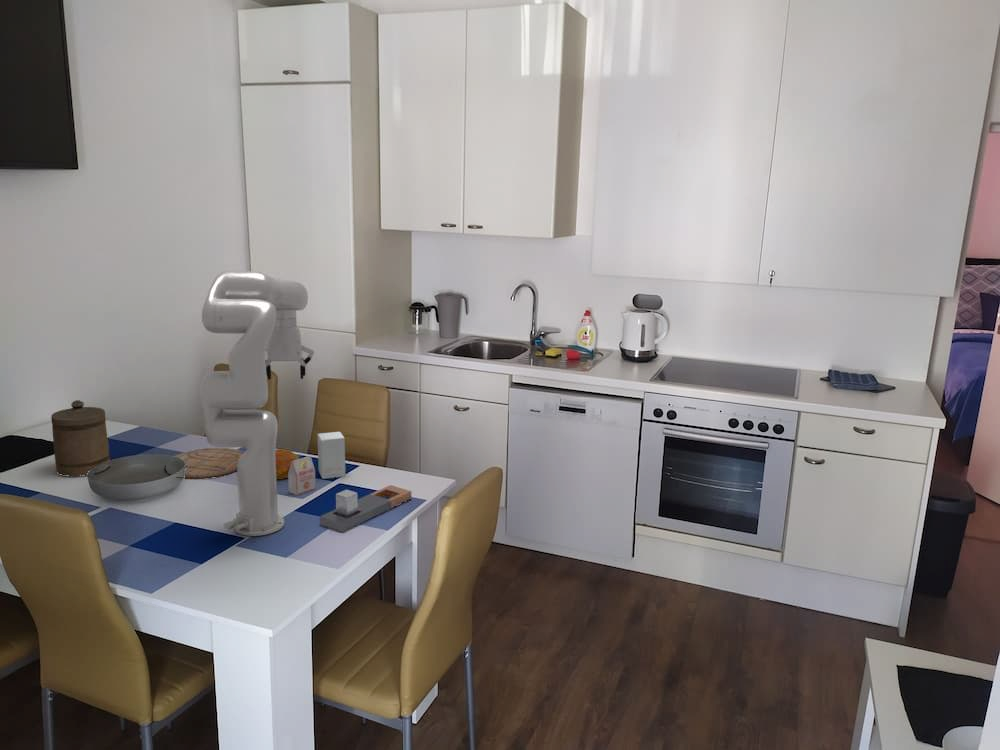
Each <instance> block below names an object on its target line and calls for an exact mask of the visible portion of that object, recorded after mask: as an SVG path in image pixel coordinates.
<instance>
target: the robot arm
mask: <svg viewBox="0 0 1000 750" xmlns="http://www.w3.org/2000/svg"><path fill="white" fill-rule="evenodd" d="M308 302H309V296H308V291H307V288H306V286H305V285H304V284H302V283H300V282H298V281H292V280H286V279H281V278H276V277H271V276H270V275H268V274H265V273H263V272H259V271H253V270H252V271H247V270H246V271H245V270H244V271H242V270H241V271H240V270H239V271H237V270H225V271H221V272H220V273H218V274H217V275H216V277H215V278H214V280H213V282H212V283H211V286H210V288H209V291H208V293H207V296H206V297H205V299H204V303H203V306H202V309H201V322H202V325H203V328H204V329H205V330H206V331H207V332H209V333H213V334H228V335H229V334H232V335H233V334H239V335H240V334H242V337H240V339H239V340H238V341H237V342H235V344H234V345H233V346H232V348H231V349H230V351H229V353H228V355H227V357H228V359H227V360H228V367H229V370H214V371H213V370H212V371H209V372H208V373H206V374H205V375H204V376H203V378H202V380H201V381H200V382H201V383H200V390H199V391H200V392H199V394H200V395H199V397H200V398H199V399H200V405H201V413H202V421H203V426H204V434H205V438H206V440H207V441H206V442H207V443H208V444H209V445H210V446H212V447H214V448H242V449H243V448H244V449H246V450H245V451H244V454H243V455H242V456H241V457H240V459H239V461H238V463H237V472H236V473H237V474H236V477H237V488H238V489H237V490H238V508H239V512H237V513H236V514H235V517H234V519H233V520H230V521H228V522H225V523H224V524H223V528H224V530H226V531H229V530H233V529H234V531H235V532H236V533H237V534H240V535H242V536H249V537H258V536H259V537H260V536H261V537H262V536H266V535H270V534H273V533H276V532H278V531H280V530H281V529H282V528H283V527H284V525H285V519H284V517H283V516H282V515H279V509H278V488H277V487H278V486H277V485H278V484H277V480H276V461H275V450H277V449H276V446H277V438H278V428H279V427H278V425H279V422H278V420H277V419H278V418H277V417H276V415H275V414H273V413H272V412H271V411H268V410H265V409H260V408H262V407H264V406H265V405H266V404H267V402H268V399H269V386H268V381H270V380H271V379H272V368H271V367H272V366H271V363H272V362H299V364H300V365H299V371H300V380H304V377H305V376H306V365H307V364H308V363H310V361H311V360H312V358H313V356H314V354H315V351H314V350H313V349H311V348H309V347H306V346H304V345H303V344H302V343H303V342H302V337H301V331H300V330H301V329H300V328H299V326H297V325H298V324H297V323H298V322H297V311H303V310H305V308H306V307H307V306H308ZM303 352H305V353H307V357H305V359H304V358H303ZM266 357H267V359H266Z"/></svg>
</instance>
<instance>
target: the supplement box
mask: <svg viewBox="0 0 1000 750" xmlns="http://www.w3.org/2000/svg"><path fill="white" fill-rule="evenodd" d="M345 438H346V437H344V435H343V433H342V432H341V431H332V432H324V433H323V432H322V433H317V461H318V469H317V470H318V473H319V475H320V476H321V479H322V480H323V479H324V480H326V479H333V478H334V479H335V477H336V478H344V477H346V446H345V445H346V443H345V441H346V440H345Z"/></svg>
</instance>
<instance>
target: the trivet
mask: <svg viewBox="0 0 1000 750" xmlns="http://www.w3.org/2000/svg"><path fill="white" fill-rule="evenodd" d="M244 453H245V451H242V450H240V449H239V450H238V449H235V448H230V447H210V448H208V447H207V448H199V449H194V450H193V449H192V450H189V451H185V452H182V453H179V454H176V455H173V457H177V458H180V459H181V460H183V461H184V463H185V466H186V471H185V480H206V479H205V478H209V479H213V478H212V477H216V478H221V477H220V476H222V477H225V476H224V475H226V476H230V475H233V474H235V473H234V472H236V473H237V463H238V461H239V459H240V457H241V456H242V455H243V454H244ZM232 473H233V474H232ZM229 474H230V475H229Z"/></svg>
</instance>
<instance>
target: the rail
mask: <svg viewBox="0 0 1000 750" xmlns="http://www.w3.org/2000/svg"><path fill="white" fill-rule="evenodd" d="M384 497H386V498H384ZM387 497H390V498H387ZM410 498H411V499H412V490H409V489H405V488H402V487H398V486H396V485H392V484H390V485H388V486H385V487H382V488H381V489H379V490H376V491H374V492H372V493H368V494H367V495H364V496H362V497H360V498H358V514H356V515H354V516H351V517H349V518H344V517H341V516H338V515H336V508H335V509H333V510H331V511H329V512H326V513H324V514H322V515H320V516H319V526H321V527H324V528H328V529H330V530H333V531H335V532H338V533H341V532H342V533H345V532H346V530H347V531H348V529H349V530H350V528H351V529H353V528H355V527H357V526H359V525H361V524H363V523H365V522H367V521H369V520H368V519H370V518H372V517H374V516H376V515H378V514H380V513H382V514H384V513H386V512H388V511H389V510H388V509H390V510H392V509H394V508H395V507H394V506H396V505H398V504H400V503H402V502H404V501H406V500H408V499H410ZM393 507H394V508H393ZM391 508H392V509H391ZM387 510H388V511H387ZM385 511H386V512H385ZM383 512H384V513H383ZM380 515H381V514H380ZM378 516H379V515H378ZM376 517H377V516H376ZM374 518H375V517H374ZM372 519H373V518H372ZM366 520H367V521H366ZM370 520H371V519H370ZM364 521H365V522H364ZM362 522H363V523H362ZM360 523H361V524H360ZM358 524H359V525H358ZM356 525H357V526H356ZM354 526H355V527H354ZM352 527H353V528H352ZM344 531H345V532H344Z"/></svg>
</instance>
